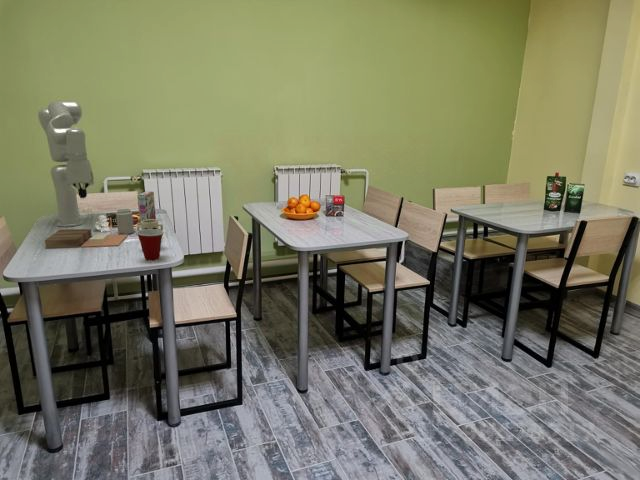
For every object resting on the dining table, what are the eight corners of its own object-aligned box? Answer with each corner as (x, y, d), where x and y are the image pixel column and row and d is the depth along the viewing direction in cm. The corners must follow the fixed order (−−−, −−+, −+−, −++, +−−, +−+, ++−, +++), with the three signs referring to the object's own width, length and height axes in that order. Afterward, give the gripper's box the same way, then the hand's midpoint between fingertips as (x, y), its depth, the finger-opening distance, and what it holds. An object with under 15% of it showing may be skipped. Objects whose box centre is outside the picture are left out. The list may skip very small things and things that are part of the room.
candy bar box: (149, 225, 255) (146, 195, 251) (139, 225, 256) (136, 194, 251) (156, 220, 266) (154, 191, 262) (147, 220, 266) (145, 191, 262)
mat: (93, 236, 234) (93, 235, 234) (128, 235, 236) (127, 234, 236) (81, 247, 217) (81, 246, 216) (118, 246, 219) (118, 244, 219)
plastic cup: (169, 259, 201) (167, 232, 198) (143, 264, 195) (140, 236, 192) (161, 253, 209) (159, 226, 206) (136, 257, 204) (133, 230, 200)
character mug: (139, 252, 210) (136, 223, 206) (139, 247, 216) (136, 220, 213) (165, 249, 214) (162, 221, 210) (164, 245, 220) (161, 218, 217)
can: (127, 235, 236) (124, 211, 232) (114, 234, 238) (112, 210, 235) (137, 231, 243) (135, 208, 239) (125, 230, 245) (122, 207, 242)
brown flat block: (61, 237, 232) (60, 229, 231) (91, 236, 234) (90, 228, 232) (46, 248, 215) (44, 240, 213) (79, 247, 216) (77, 239, 215)
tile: (108, 233, 229) (109, 237, 230) (95, 234, 229) (96, 238, 229) (102, 239, 221) (103, 243, 221) (88, 239, 220) (89, 243, 221)
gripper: (56, 158, 210) (62, 199, 215) (92, 158, 212) (97, 199, 217) (63, 156, 217) (68, 196, 222) (97, 156, 219) (102, 195, 224)
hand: (83, 197), depth 220 cm, fingers closed
